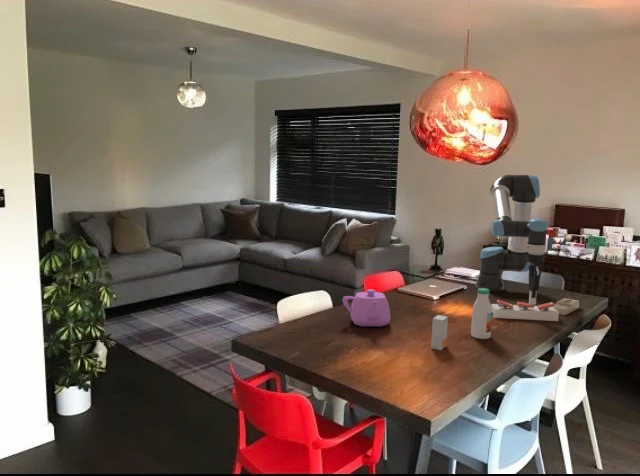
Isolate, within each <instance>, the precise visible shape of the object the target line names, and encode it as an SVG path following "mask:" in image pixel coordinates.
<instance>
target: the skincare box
mask: <svg viewBox="0 0 640 476" xmlns="http://www.w3.org/2000/svg"><path fill="white" fill-rule="evenodd" d="M448 319H449V317H448V316H446V315H440V314H438V315H437V314H436V315H435V316H434V317H433V318H432V321H431V322H432V323H431V324H432V325H431V326H432V327H431V344H430V348H431V349H433V350H438V351H443V349H444V348H445V347H447V338H448V322H449V320H448Z"/></svg>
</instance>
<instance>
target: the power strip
mask: <svg viewBox="0 0 640 476" xmlns="http://www.w3.org/2000/svg"><path fill="white" fill-rule="evenodd" d="M490 304H491V307H492V317H493V318H495V319H509V320H510V319H514V320H531V321H533V320H534V321H546V322H547V321H548V322H549V321H551V322H559V315H560V314H559V312H558V311H557V310H556V309H555V308H554V307H549V308H545V309H541V310H539V309H538V307H537V306H538V305H534V308H530V307H523V306H518V305H517V304H512V305H513V308H510V307H507V306H504V305H502V304H499V303H490Z"/></svg>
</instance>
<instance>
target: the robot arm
mask: <svg viewBox="0 0 640 476" xmlns="http://www.w3.org/2000/svg"><path fill="white" fill-rule="evenodd" d="M540 187H541V186H540V180H539V178H538V176H537V175H533V174H505V175H501V176H500V177H498V178H497V179H495V180H494V182H492V184H491V187H490V189H489V194H490V197H491V199H492V202H493V210H494V218H495V220H492V222H491V223H492V224H491V235H492V236H495V237H496V236H497V237H510V244H509V245H508V246H507V249H504V248H503V247H502V246H490V247H484V248H482V249H481V251H480V256H479V258H480V262H479V263H480V264H479V275H478V277H477V279H476V283H475V288H476V289H477V290H478V289H479V288H486V289H489V292H502V291H504V290H505V285H504V281H503V277H502V272H516V273H517V272H518V273H525V272H528V287H529V295H528V296H529V297H528V303H529V304H533V305H534V306H537V305H536V304H537V293H538V291H539V289H540V287H539V286H540V280H541V275H542V271H541V266H540V264H543V263H545V259H546V257H545V256H546V255H545V253H546V241H547V229H548V222H547V220H546V219H543V218H542V219H541V218H538V219H537V218H532V219H531V215H532V207H533V204H534V203H535V202H536V199H538V198H540V193H541V189H540ZM510 198H511V199H512V202H514V206H513V207H514V209H513V217H512V212H511V206H510V205H511V203H510Z"/></svg>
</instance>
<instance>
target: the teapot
mask: <svg viewBox="0 0 640 476" xmlns="http://www.w3.org/2000/svg"><path fill="white" fill-rule="evenodd" d="M349 300H352V302H351V306H350V304H349ZM342 303H343V305H344V307H346V309H347V310H348V312H349V313H350V314H349V315H350V318H351V320H352V322H353V323H354V325H356V326H360V327H379V328H380V327H383V326H387V325H388V324H389V322H390V321H391V310H390V306H389V302H388V300H387V297H386V296H385V294H384V293H383V292H378V291H376V289H366V291H360V292H356V294H355V295H354V296H351V295H346V296H345V295H344V296H343V298H342Z"/></svg>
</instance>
